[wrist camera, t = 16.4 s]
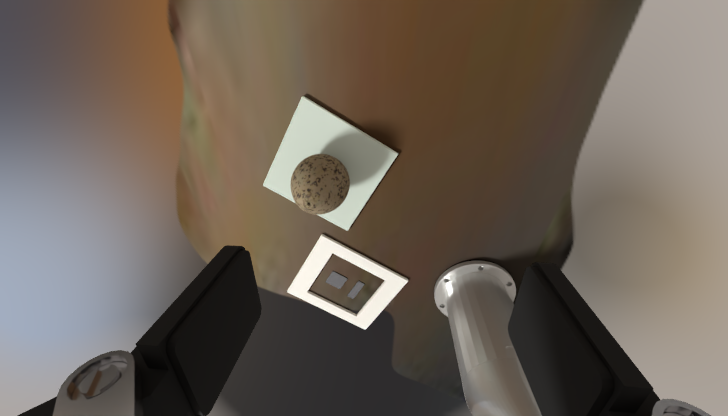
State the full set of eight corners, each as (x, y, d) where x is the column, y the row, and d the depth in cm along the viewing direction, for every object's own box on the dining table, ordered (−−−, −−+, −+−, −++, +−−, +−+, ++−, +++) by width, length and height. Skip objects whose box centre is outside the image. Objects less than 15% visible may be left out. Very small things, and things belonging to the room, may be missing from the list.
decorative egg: (314, 200, 42) (293, 238, 34) (293, 155, 40) (264, 183, 31) (360, 187, 41) (351, 223, 32) (342, 139, 38) (326, 163, 29)
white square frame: (408, 279, 48) (408, 281, 48) (365, 327, 54) (365, 329, 54) (322, 233, 46) (321, 235, 45) (287, 289, 52) (286, 291, 51)
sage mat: (398, 152, 39) (398, 154, 38) (347, 228, 45) (347, 230, 44) (303, 95, 37) (302, 96, 36) (264, 183, 43) (262, 185, 42)
